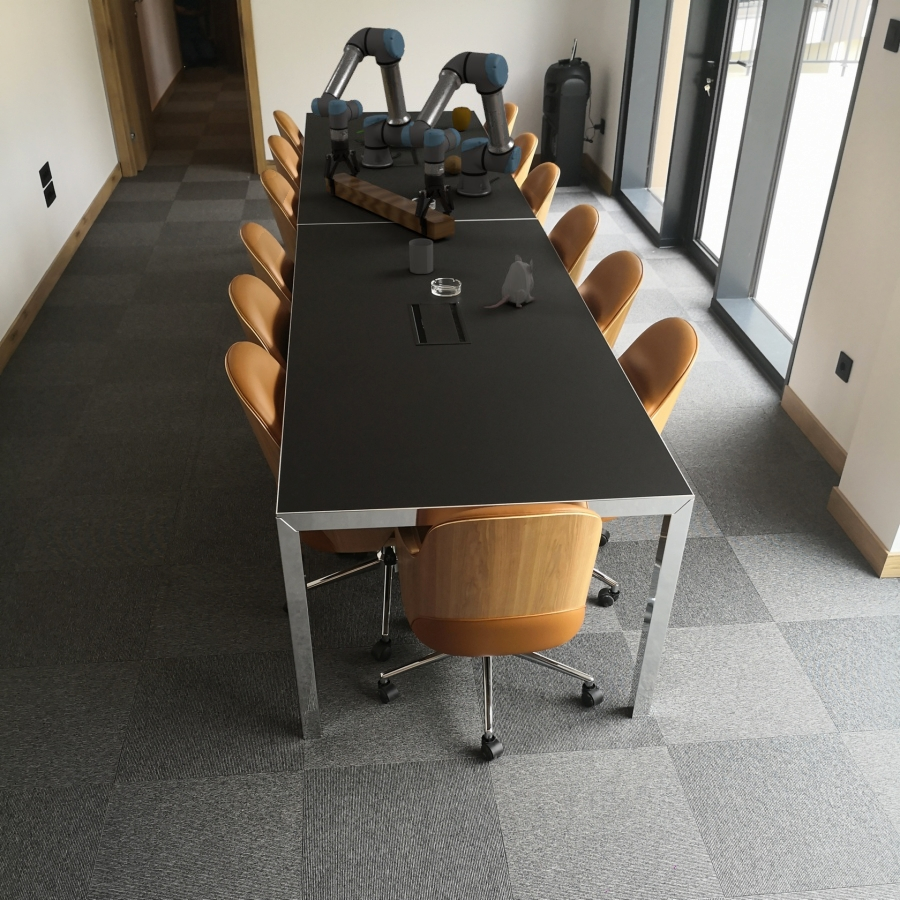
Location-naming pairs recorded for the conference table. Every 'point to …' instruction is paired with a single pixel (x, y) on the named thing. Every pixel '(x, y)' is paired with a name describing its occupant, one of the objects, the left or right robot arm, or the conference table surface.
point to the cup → (421, 256)
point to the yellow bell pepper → (461, 118)
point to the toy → (517, 283)
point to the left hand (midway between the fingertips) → (343, 191)
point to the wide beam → (391, 206)
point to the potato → (453, 164)
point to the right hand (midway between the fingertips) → (435, 231)
